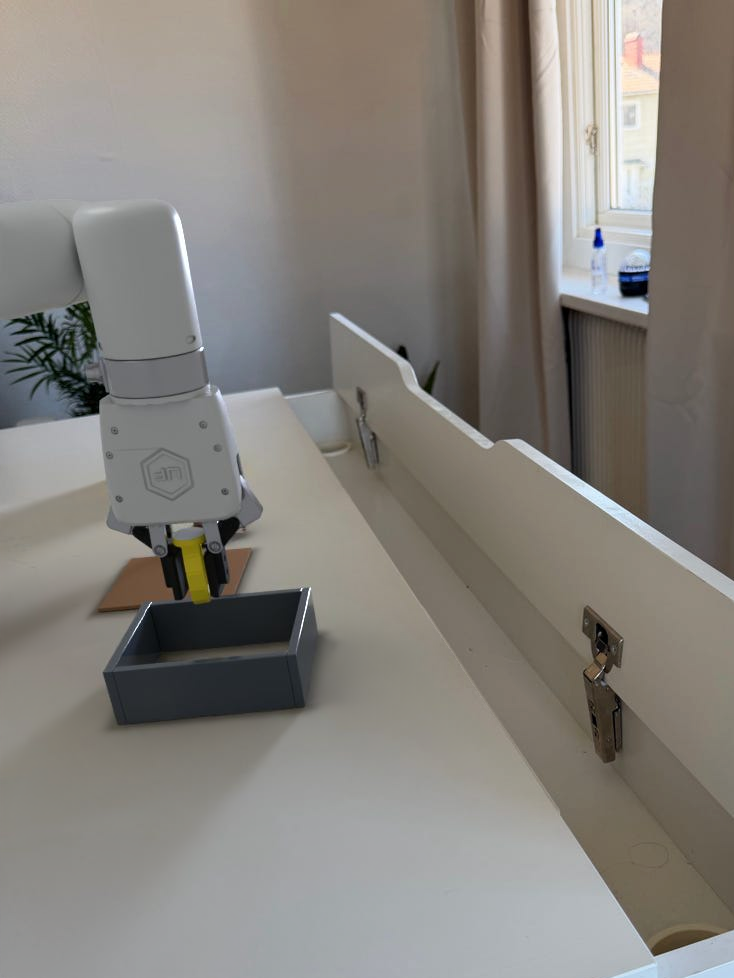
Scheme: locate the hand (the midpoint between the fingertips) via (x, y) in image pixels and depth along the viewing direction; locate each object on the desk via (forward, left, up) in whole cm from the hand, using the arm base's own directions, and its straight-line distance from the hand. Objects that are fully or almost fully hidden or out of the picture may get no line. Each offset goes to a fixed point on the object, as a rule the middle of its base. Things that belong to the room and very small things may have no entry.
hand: (200, 591), depth 83 cm
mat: (-8, +24, -8) cm, 27 cm away
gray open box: (+1, 0, -8) cm, 8 cm away
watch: (0, 0, -1) cm, 1 cm away
